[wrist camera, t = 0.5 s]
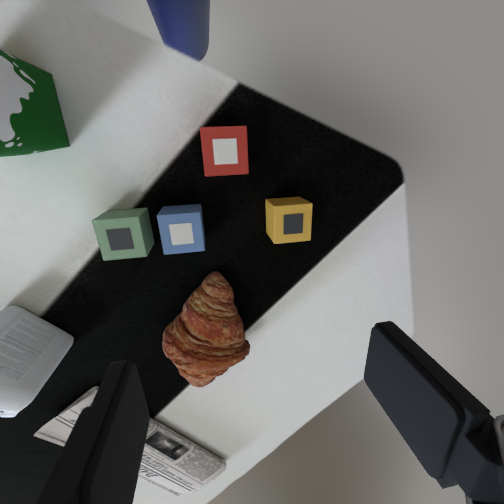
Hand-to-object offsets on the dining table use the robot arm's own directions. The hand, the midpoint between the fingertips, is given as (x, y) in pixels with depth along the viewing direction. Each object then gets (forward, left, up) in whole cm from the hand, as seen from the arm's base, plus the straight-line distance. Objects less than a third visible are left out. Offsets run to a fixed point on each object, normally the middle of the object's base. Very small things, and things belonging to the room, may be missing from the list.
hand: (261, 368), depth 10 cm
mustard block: (+1, +9, -28) cm, 29 cm away
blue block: (+1, -5, -28) cm, 28 cm away
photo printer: (+15, -28, -28) cm, 43 cm away
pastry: (+19, -4, -28) cm, 34 cm away
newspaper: (+45, -19, -28) cm, 56 cm away
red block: (-8, +1, -28) cm, 29 cm away
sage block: (+1, -12, -28) cm, 30 cm away
